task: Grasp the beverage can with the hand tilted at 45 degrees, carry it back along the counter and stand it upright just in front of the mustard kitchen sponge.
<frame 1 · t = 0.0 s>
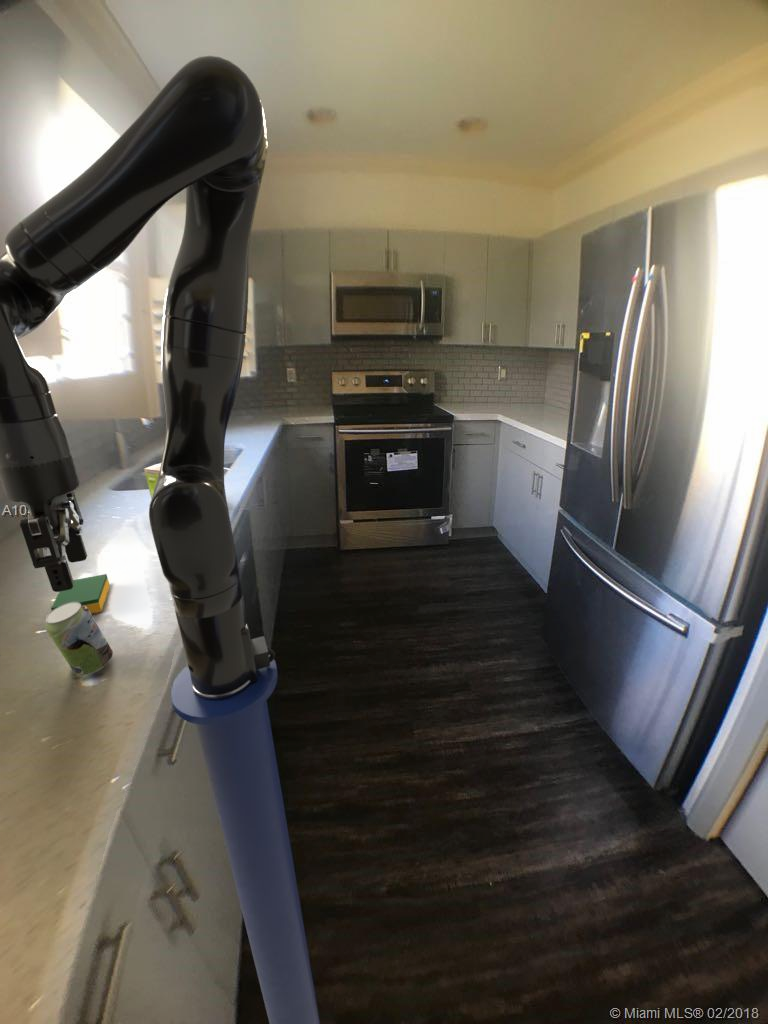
hand: (72, 574, 61), 22 cm above the worktop, tool pointing down, fingers open, 8 cm apart
tea box: (184, 507, 147), on the worktop
beverage can: (90, 669, 77), on the worktop
sponge: (84, 602, 96), on the worktop
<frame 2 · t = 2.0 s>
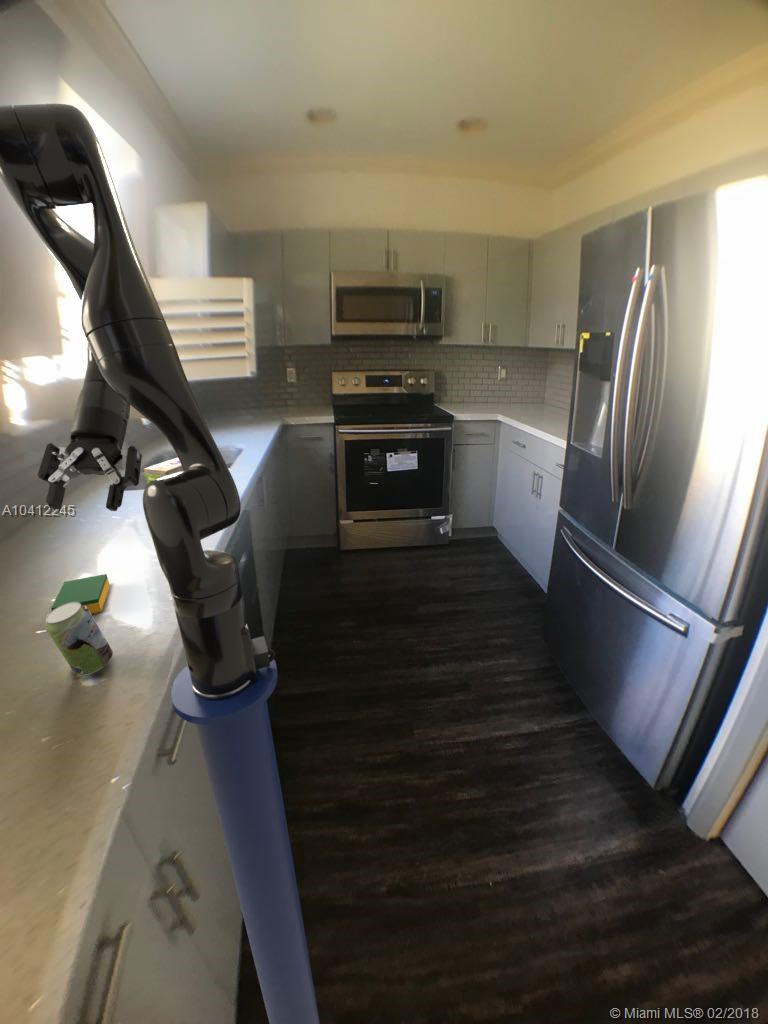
hand: (83, 508, 71), 27 cm above the worktop, tool tilted 40°, fingers open, 8 cm apart
nothing on the worktop moved.
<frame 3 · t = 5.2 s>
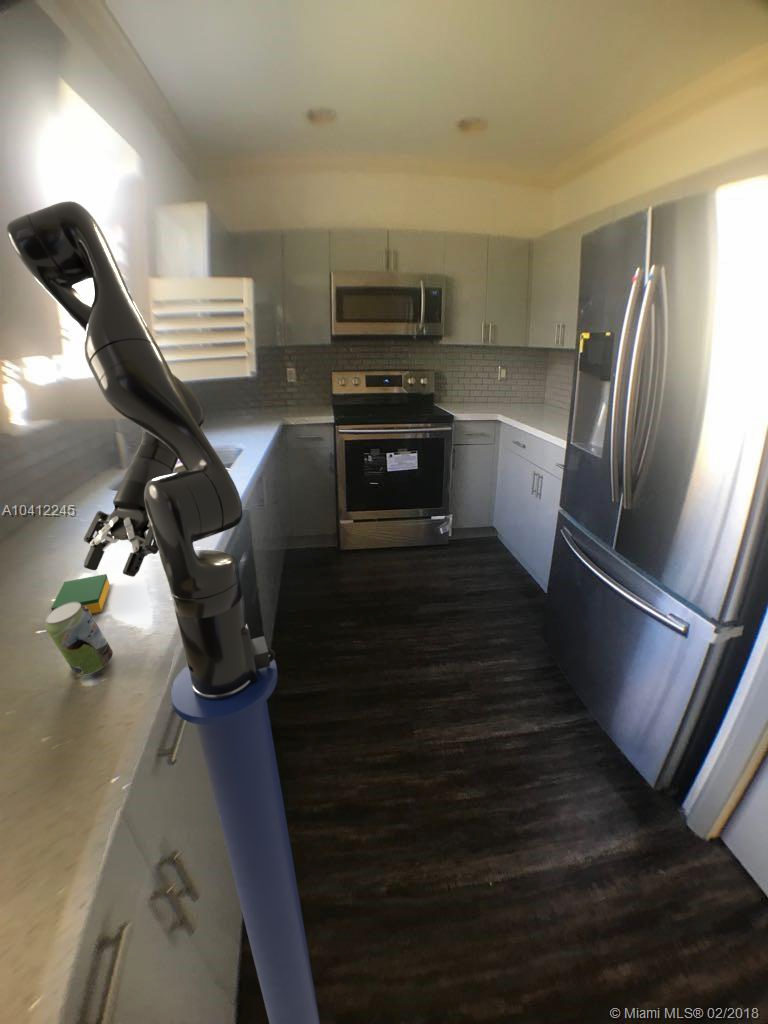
hand: (108, 572, 78), 14 cm above the worktop, tool tilted 45°, fingers open, 8 cm apart
nothing on the worktop moved.
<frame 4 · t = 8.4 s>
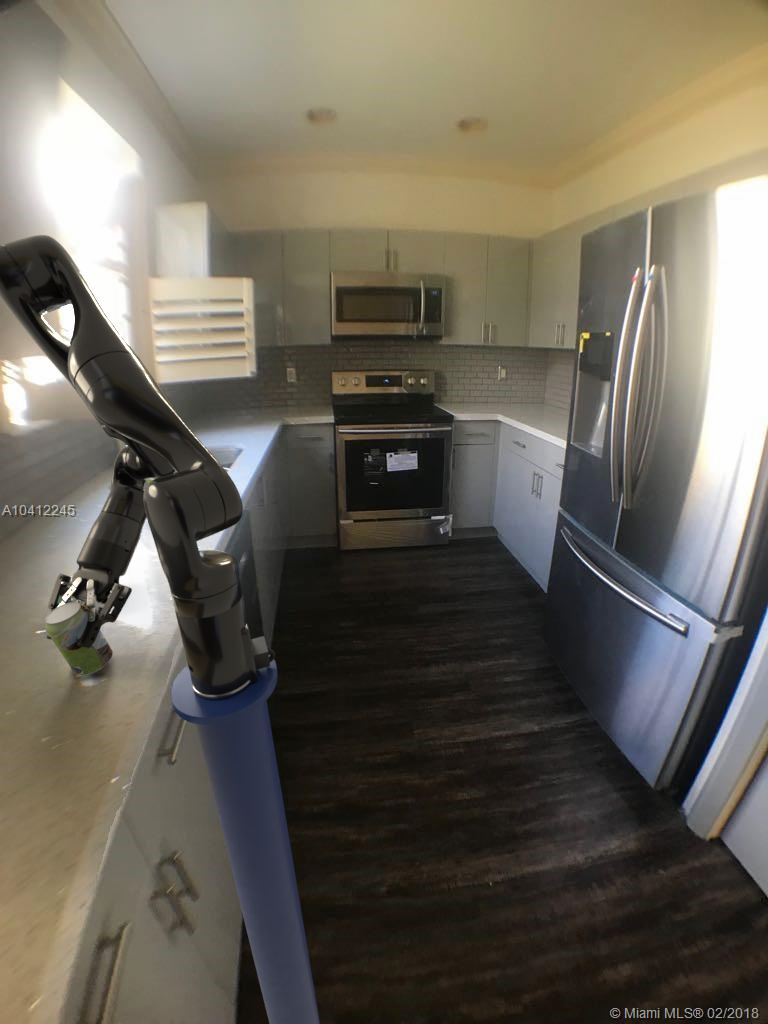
hand: (68, 642, 73), 6 cm above the worktop, tool tilted 45°, fingers closed on beverage can, 5 cm apart
beverage can: (90, 669, 77), on the worktop, touching gripper
everything else where it was.
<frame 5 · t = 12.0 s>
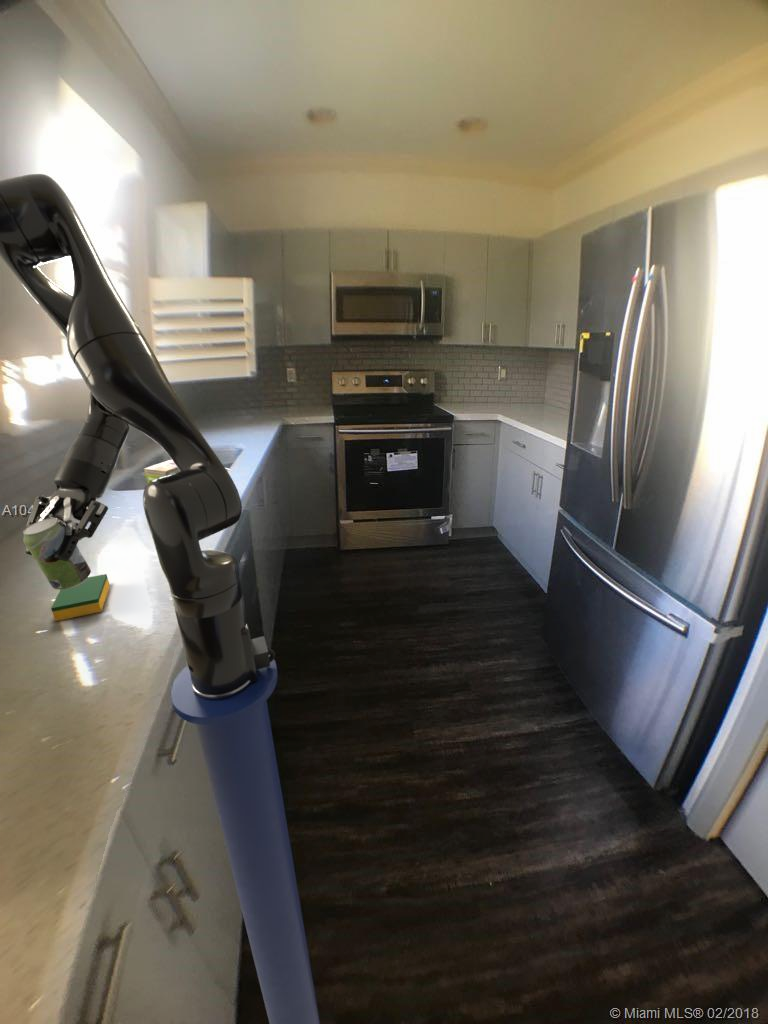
hand: (46, 557, 75), 18 cm above the worktop, tool tilted 45°, fingers closed on beverage can, 5 cm apart
beverage can: (69, 586, 79), point 12 cm above the worktop, touching gripper
everything else where it was.
when the fingers open (6 cm above the worktop, at t = 16.1 s): beverage can stays where it is, on the worktop.
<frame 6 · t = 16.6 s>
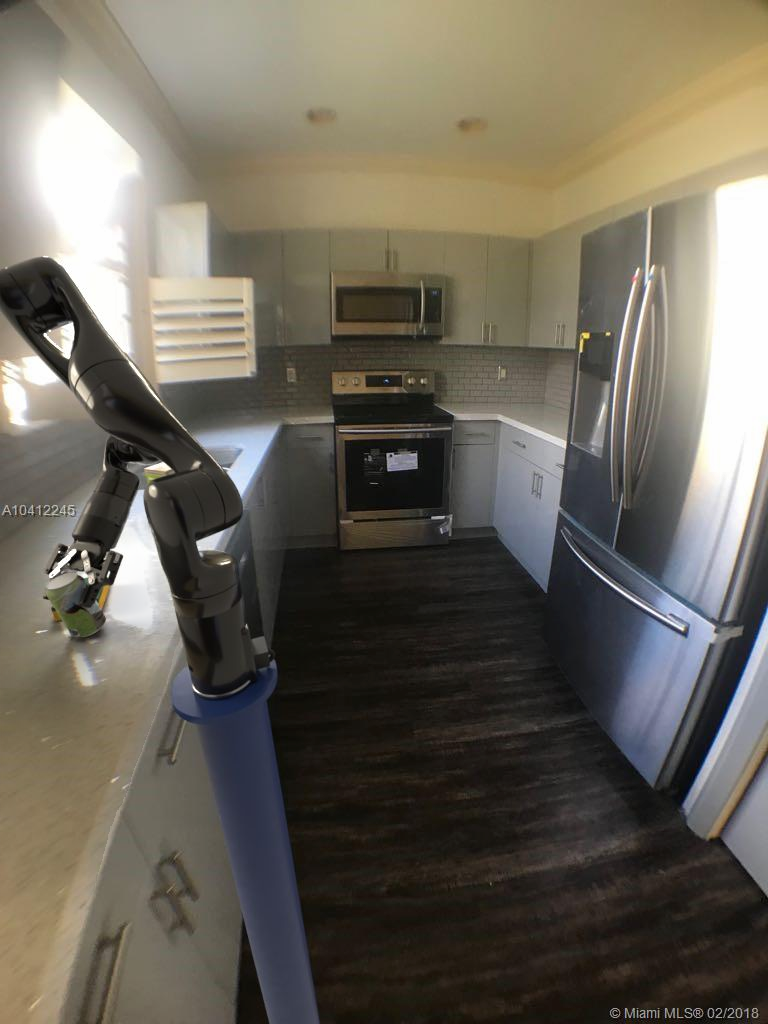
hand: (66, 603, 82), 7 cm above the worktop, tool tilted 45°, fingers open, 8 cm apart
beverage can: (86, 633, 86), on the worktop
everything else where it was.
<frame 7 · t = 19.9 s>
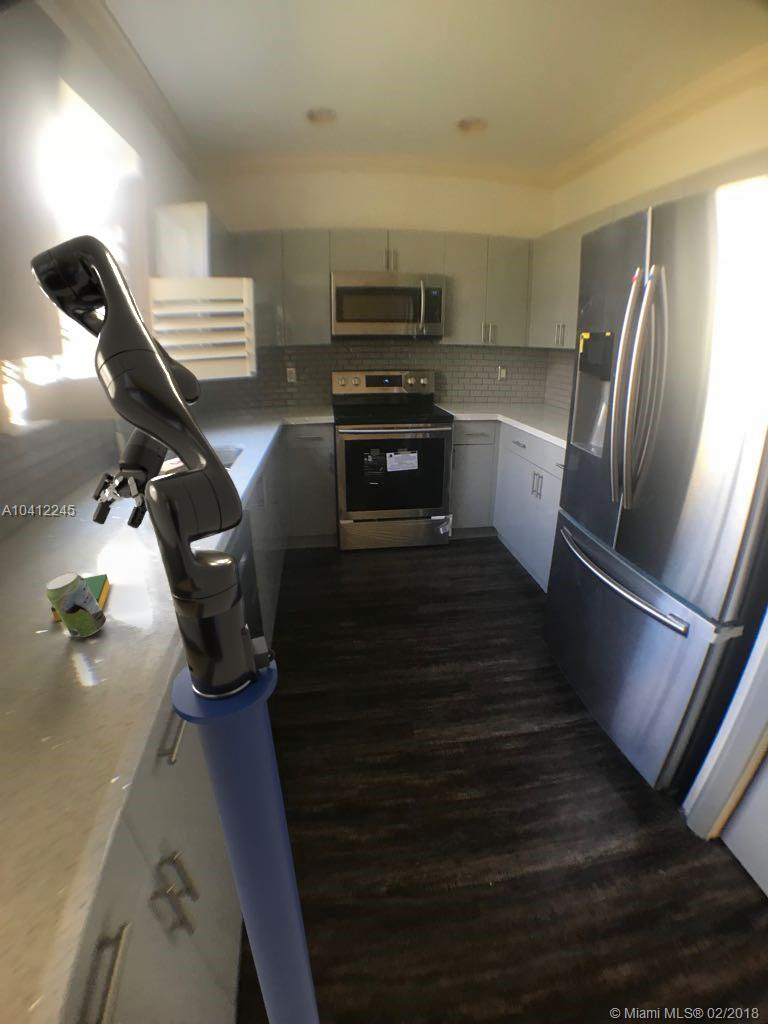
hand: (114, 524, 88), 18 cm above the worktop, tool tilted 45°, fingers open, 8 cm apart
nothing on the worktop moved.
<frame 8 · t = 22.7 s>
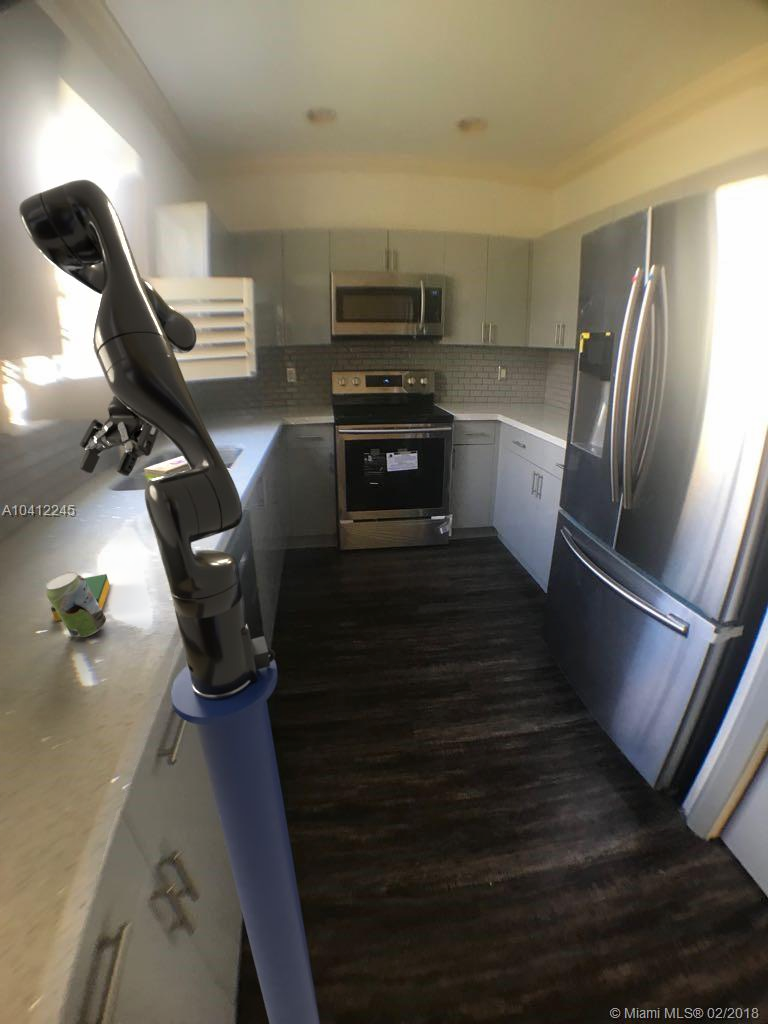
hand: (103, 472, 82), 29 cm above the worktop, tool tilted 45°, fingers open, 8 cm apart
nothing on the worktop moved.
at the end: beverage can inside the target area on the worktop beside the sponge (2.2 cm from its centre), on the worktop; beverage can tilted 0°; the gripper is holding nothing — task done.
